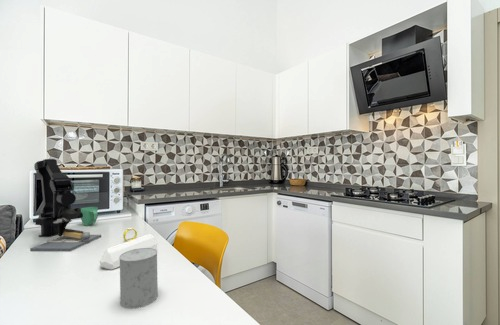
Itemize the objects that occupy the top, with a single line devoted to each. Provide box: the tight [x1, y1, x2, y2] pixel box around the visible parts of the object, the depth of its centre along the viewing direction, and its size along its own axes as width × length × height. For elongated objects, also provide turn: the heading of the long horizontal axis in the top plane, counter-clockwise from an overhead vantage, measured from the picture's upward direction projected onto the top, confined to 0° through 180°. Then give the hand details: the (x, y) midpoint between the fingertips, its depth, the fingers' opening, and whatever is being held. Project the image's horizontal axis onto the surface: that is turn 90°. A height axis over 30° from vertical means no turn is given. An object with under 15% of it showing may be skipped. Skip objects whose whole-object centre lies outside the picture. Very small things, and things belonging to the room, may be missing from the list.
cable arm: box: [61, 228, 91, 239], centre depth 119 cm, size 19×4×3 cm, turn 67°
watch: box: [122, 227, 138, 242], centre depth 120 cm, size 6×3×6 cm, turn 140°
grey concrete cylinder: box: [119, 248, 159, 310], centre depth 69 cm, size 10×10×12 cm
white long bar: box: [99, 233, 158, 270], centre depth 97 cm, size 7×7×24 cm
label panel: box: [29, 234, 102, 252], centre depth 117 cm, size 19×20×2 cm
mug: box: [80, 206, 99, 227], centre depth 150 cm, size 15×10×10 cm
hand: (60, 236), depth 119 cm, fingers closed
